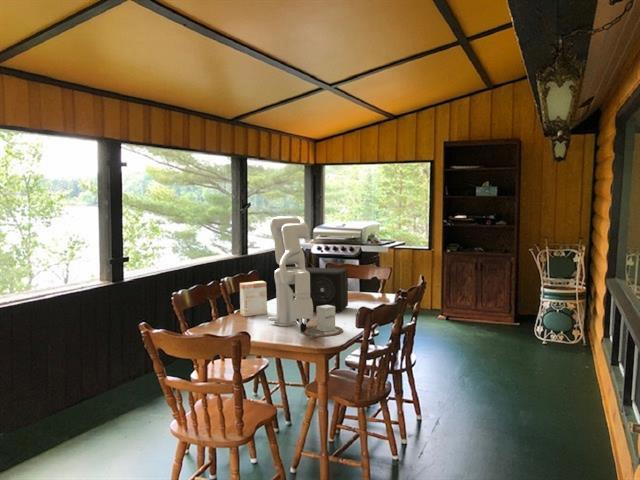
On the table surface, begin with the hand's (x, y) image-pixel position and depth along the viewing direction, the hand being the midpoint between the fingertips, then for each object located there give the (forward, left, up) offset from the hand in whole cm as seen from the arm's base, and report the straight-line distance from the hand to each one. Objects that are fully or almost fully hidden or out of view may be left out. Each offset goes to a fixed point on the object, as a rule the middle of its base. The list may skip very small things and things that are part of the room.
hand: (303, 331), depth 273 cm
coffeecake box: (-20, +61, -3) cm, 64 cm away
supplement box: (+14, +12, -3) cm, 19 cm away
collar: (+10, +7, -3) cm, 13 cm away
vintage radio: (+19, +65, -3) cm, 68 cm away
